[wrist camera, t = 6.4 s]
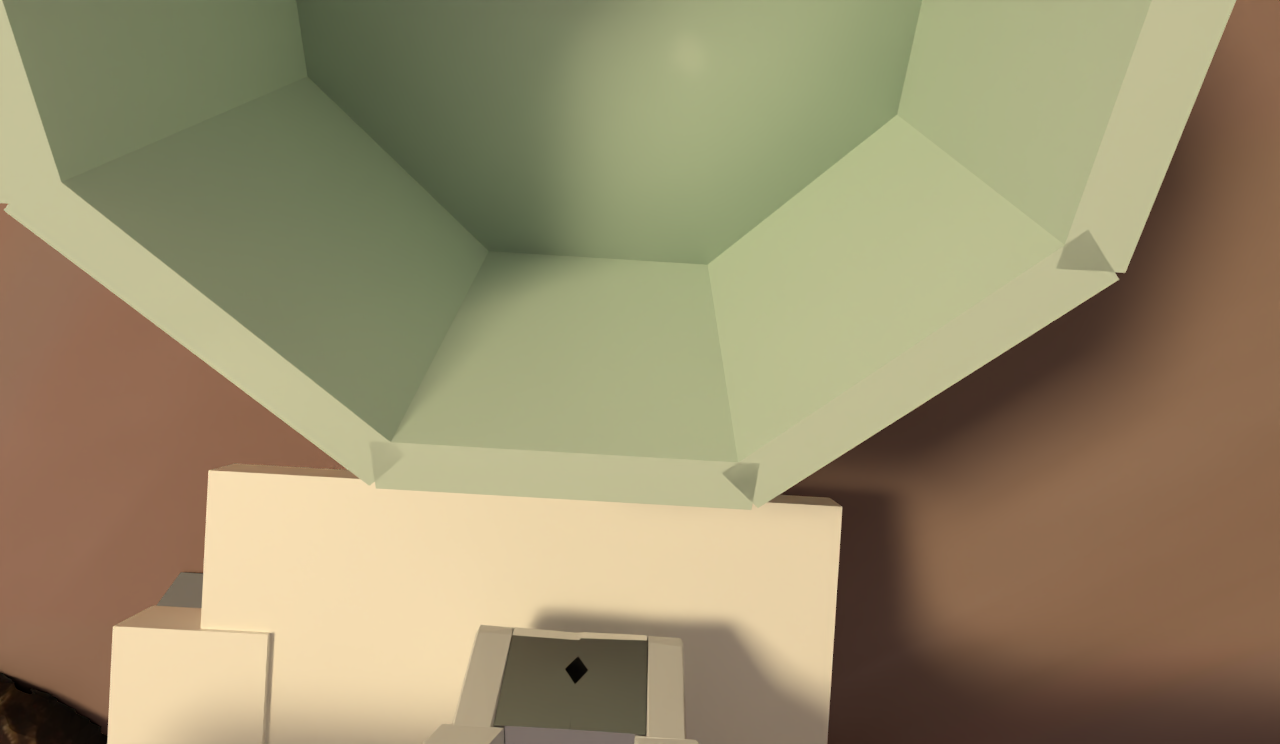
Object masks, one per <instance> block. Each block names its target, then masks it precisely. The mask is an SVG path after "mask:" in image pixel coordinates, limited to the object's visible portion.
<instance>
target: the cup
mask: <svg viewBox="0 0 1280 744" xmlns="http://www.w3.org/2000/svg"><path fill="white" fill-rule="evenodd" d="M1235 2H1236V0H0V203H8V205H7V207H6V208H5V209H4V211H5V212H7V213H8V214H9V215H11V216H12V217H13V218H15V219H16V220H17V221H19V222H20V223H21V224H23V225H24V226H25V227H27V228H28V229H29V230H31V231H32V232H33V233H35V234H36V235H37V236H38V237H40V238H41V239H42V240H44V241H45V242H46V243H48V244H49V245H50V246H52V247H53V248H54V249H56V250H57V251H58V252H60V253H61V254H62V255H64V256H65V257H66V258H68V259H69V260H70V261H72V262H73V263H74V264H76V265H77V266H78V267H80V268H81V269H82V270H84V271H85V272H86V273H88V274H89V275H90V276H92V277H93V278H94V279H96V280H97V281H98V282H100V283H101V284H102V285H104V286H105V287H106V288H107V289H109V290H110V291H111V292H113V293H114V294H115V295H117V296H118V297H119V298H121V299H122V300H123V301H125V302H126V303H127V304H129V305H130V306H131V307H133V308H134V309H135V310H137V311H138V312H139V313H141V314H142V315H143V316H145V317H146V318H147V319H149V320H150V321H151V322H153V323H154V324H155V325H157V326H158V327H159V328H161V329H162V330H163V331H165V332H166V333H167V334H169V335H170V336H171V337H172V338H174V339H175V340H176V341H178V342H179V343H180V344H182V345H183V346H184V347H186V348H187V349H188V350H190V351H191V352H192V353H194V354H195V355H196V356H198V357H199V358H200V359H202V360H203V361H204V362H206V363H207V364H208V365H210V366H211V367H212V368H214V369H215V370H216V371H218V372H219V373H220V374H222V375H223V376H224V377H226V378H227V379H228V380H230V381H231V382H232V383H234V384H235V385H236V386H238V387H239V388H240V389H241V390H243V391H244V392H245V393H247V394H248V395H249V396H251V397H252V398H253V399H255V400H256V401H257V402H259V403H260V404H261V405H263V406H264V407H265V408H267V409H268V410H269V411H271V412H272V413H273V414H275V415H276V416H277V417H279V418H280V419H281V420H283V421H284V422H285V423H287V424H288V425H289V426H291V427H292V428H293V429H295V430H296V431H297V432H299V433H300V434H301V435H303V436H304V437H305V438H307V439H308V440H309V441H310V442H312V443H313V444H314V445H316V446H317V447H318V448H320V449H321V450H322V451H324V452H325V453H326V454H328V455H329V456H330V457H332V458H333V459H334V460H336V461H337V462H338V463H340V464H341V465H342V466H344V467H345V468H346V469H348V470H349V471H350V472H352V473H353V474H354V475H356V476H357V477H358V478H360V479H361V480H362V481H364V482H365V483H366V484H368V485H369V486H370V485H371V484H372V483H374V482H375V486H376V489H394V490H411V491H429V492H446V493H464V494H481V495H499V496H516V497H534V498H551V499H569V500H586V501H604V502H621V503H639V504H656V505H673V506H691V507H708V508H726V509H743V510H752V504H754V505H755V506H756V507H757V508H759V507H761V506H762V505H764V504H765V503H767V502H768V501H770V500H772V499H773V498H775V497H776V496H778V495H780V494H781V493H783V492H784V491H786V490H787V489H789V488H791V487H792V486H794V485H795V484H797V483H799V482H800V481H802V480H803V479H805V478H806V477H808V476H810V475H811V474H813V473H814V472H816V471H817V470H819V469H821V468H822V467H824V466H825V465H827V464H829V463H830V462H832V461H833V460H835V459H836V458H838V457H840V456H841V455H843V454H844V453H846V452H847V451H849V450H851V449H852V448H854V447H855V446H857V445H859V444H860V443H862V442H863V441H865V440H866V439H868V438H870V437H871V436H873V435H874V434H876V433H878V432H879V431H881V430H882V429H884V428H885V427H887V426H889V425H890V424H892V423H893V422H895V421H896V420H898V419H900V418H901V417H903V416H904V415H906V414H908V413H909V412H911V411H912V410H914V409H915V408H917V407H919V406H920V405H922V404H923V403H925V402H926V401H928V400H930V399H931V398H933V397H934V396H936V395H938V394H939V393H941V392H942V391H944V390H945V389H947V388H949V387H950V386H952V385H953V384H955V383H957V382H958V381H960V380H961V379H963V378H964V377H966V376H968V375H969V374H971V373H972V372H974V371H975V370H977V369H979V368H980V367H982V366H983V365H985V364H987V363H988V362H990V361H991V360H993V359H994V358H996V357H998V356H999V355H1001V354H1002V353H1004V352H1005V351H1007V350H1009V349H1010V348H1012V347H1013V346H1015V345H1017V344H1018V343H1020V342H1021V341H1023V340H1024V339H1026V338H1028V337H1029V336H1031V335H1032V334H1034V333H1036V332H1037V331H1039V330H1040V329H1042V328H1043V327H1045V326H1047V325H1048V324H1050V323H1051V322H1053V321H1054V320H1056V319H1058V318H1059V317H1061V316H1062V315H1064V314H1066V313H1067V312H1069V311H1070V310H1072V309H1073V308H1075V307H1077V306H1078V305H1080V304H1081V303H1083V302H1084V301H1086V300H1088V299H1089V298H1091V297H1092V296H1094V295H1096V294H1097V293H1099V292H1100V291H1102V290H1103V289H1105V288H1107V287H1108V286H1110V285H1111V284H1113V283H1115V282H1116V281H1118V280H1119V278H1118V277H1117V275H1116V273H1115V272H1119V273H1126V270H1127V268H1128V265H1129V263H1130V260H1131V258H1132V255H1133V253H1134V250H1135V248H1136V245H1137V243H1138V241H1139V238H1140V236H1141V233H1142V231H1143V228H1144V226H1145V223H1146V221H1147V218H1148V216H1149V213H1150V211H1151V209H1152V206H1153V204H1154V201H1155V199H1156V196H1157V194H1158V191H1159V189H1160V186H1161V184H1162V181H1163V179H1164V177H1165V174H1166V172H1167V169H1168V167H1169V164H1170V162H1171V159H1172V157H1173V154H1174V152H1175V149H1176V147H1177V145H1178V142H1179V140H1180V137H1181V135H1182V132H1183V130H1184V127H1185V125H1186V122H1187V120H1188V117H1189V115H1190V113H1191V110H1192V108H1193V105H1194V103H1195V100H1196V98H1197V95H1198V93H1199V90H1200V88H1201V85H1202V83H1203V81H1204V78H1205V76H1206V73H1207V71H1208V68H1209V66H1210V63H1211V61H1212V58H1213V56H1214V53H1215V51H1216V49H1217V46H1218V44H1219V41H1220V39H1221V36H1222V34H1223V31H1224V29H1225V26H1226V24H1227V21H1228V19H1229V17H1230V14H1231V12H1232V9H1233V7H1234V4H1235Z"/></svg>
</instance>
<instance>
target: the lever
mask: <svg viewBox="0 0 1280 744" xmlns="http://www.w3.org/2000/svg"><path fill="white" fill-rule="evenodd" d="M841 522H842V506H841V505H839V504H838V503H836V502H835V501H834V500H832V499H831V498H827V497H810V496H793V495H778V496H776V497H775V498H773V499H772V500H770V501H768V502H767V503H765V504H764V505H762V506H761V507H759V508H757V507H756V506H755V505H754V504H752V510H743V509H726V508H708V507H691V506H673V505H656V504H639V503H621V502H604V501H586V500H569V499H551V498H534V497H516V496H499V495H481V494H464V493H446V492H429V491H411V490H394V489H376V486H375V482H374V483H372V484H371V485H370V486H369V485H368V484H366V483H365V482H364V481H362V480H361V479H360V478H358V477H357V476H356V475H354V474H353V473H352V472H350V471H349V470H341V469H324V468H306V467H289V466H271V465H254V464H237V463H234V464H231V465H227V466H223V467H219V468H216V469H212V470H209V472H208V492H207V511H206V531H205V551H204V570H203V590H202V608H188V607H170V606H151V607H149V608H147V609H145V610H143V611H141V612H140V613H138V614H136V615H134V616H132V617H130V618H128V619H126V620H124V621H122V622H120V623H118V624H116V625H114V626H113V636H112V657H111V677H110V698H109V718H108V738H107V744H422V743H423V742H424V741H425V740H426V739H427V738H428V737H429V736H430V735H431V734H432V733H433V732H434V731H435V730H436V729H437V728H438V727H439V726H440V725H441V724H452V723H453V719H454V715H455V711H456V707H457V704H458V700H459V696H460V692H461V688H462V684H463V681H464V677H465V673H466V669H467V665H468V662H469V658H470V654H471V650H472V646H473V642H474V639H475V635H476V633H477V631H478V629H479V627H480V625H490V626H503V627H518V628H529V629H540V630H551V631H562V632H573V633H581V632H590V633H610V634H629V635H647V638H648V636H655V637H670V638H681V640H682V642H683V645H684V673H685V702H686V731H687V739H693V740H697V741H698V742H699V743H700V744H827V739H828V723H829V708H830V692H831V677H832V661H833V646H834V630H835V615H836V599H837V584H838V568H839V553H840V537H841Z"/></svg>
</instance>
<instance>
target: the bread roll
mask: <svg viewBox="0 0 1280 744" xmlns="http://www.w3.org/2000/svg"><path fill="white" fill-rule="evenodd" d="M14 683H15V682H13V681H12V680H11V679H10V678H7V677H6V676H5V675H4V674H2V673H0V744H107V738H108V736H107V735H104V734H102V733H101V726H98V725H95V724H94V723H90V721H89V718H86V717H84V716H81V715H79V714H77V713H76V712H75V711H76V710H75V709H72V708H71V707H69V706H67V705H65V704H63V703H60V702H57V699H56V698H55V697H51V696H52V695H50V694H48V693H44V692H40V691H37V690H35V689H30V691H32V692H33V693H32V694H27V693H24V692H22V691H20V690H17V689H16V688H15V685H14Z"/></svg>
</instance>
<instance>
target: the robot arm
mask: <svg viewBox="0 0 1280 744" xmlns="http://www.w3.org/2000/svg"><path fill="white" fill-rule="evenodd" d="M422 744H700V743H699V742H698V741H697V740H693V739H687V731H686V702H685V673H684V645H683V642H682V640H681V638H670V637H655V636H648V638H647V635H629V634H610V633H590V632H581V633H573V632H562V631H551V630H540V629H529V628H518V627H503V626H490V625H480V627H479V629H478V631H477V633H476V635H475V639H474V642H473V646H472V650H471V654H470V658H469V662H468V665H467V669H466V673H465V677H464V681H463V684H462V688H461V692H460V696H459V700H458V704H457V707H456V711H455V715H454V719H453V723H452V724H441V725H440V726H439V727H438V728H437V729H436V730H435V731H434V732H433V733H432V734H431V735H430V736H429V737H428V738H427V739H426V740H425V741H424V742H423V743H422Z"/></svg>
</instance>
